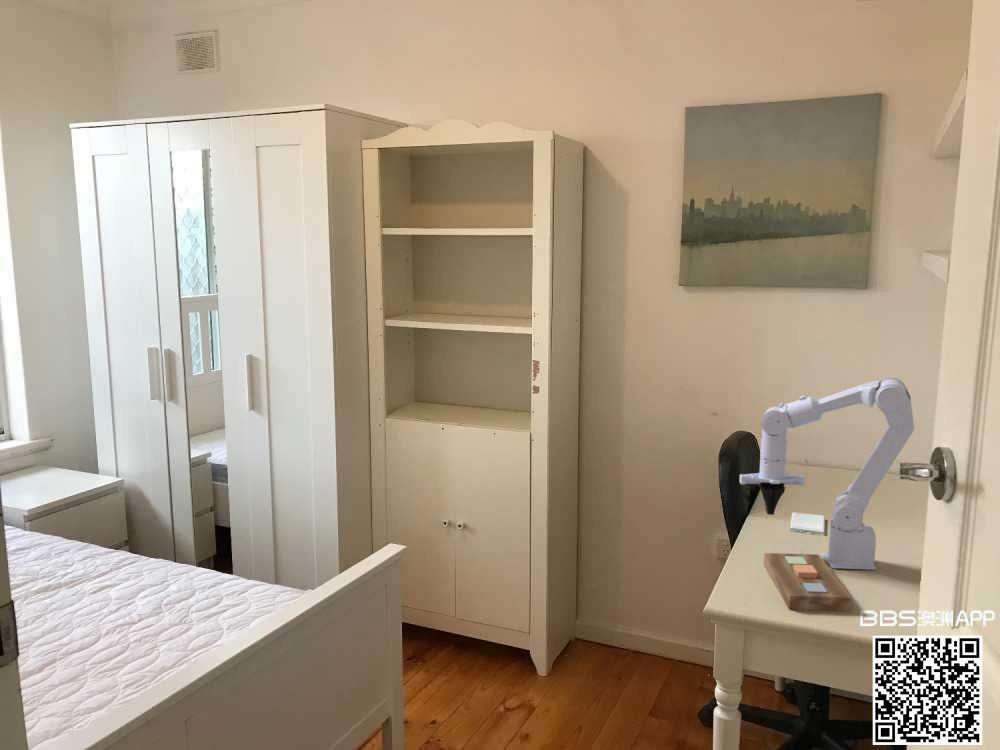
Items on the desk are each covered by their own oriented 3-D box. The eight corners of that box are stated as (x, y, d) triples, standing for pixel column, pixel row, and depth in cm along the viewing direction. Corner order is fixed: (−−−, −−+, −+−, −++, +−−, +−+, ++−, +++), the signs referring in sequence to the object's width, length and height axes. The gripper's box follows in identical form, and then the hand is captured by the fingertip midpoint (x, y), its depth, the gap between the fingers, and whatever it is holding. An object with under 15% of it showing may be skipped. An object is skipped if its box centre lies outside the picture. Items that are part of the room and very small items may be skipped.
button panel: (817, 566, 185) (818, 554, 185) (850, 611, 164) (851, 597, 163) (763, 565, 186) (764, 553, 186) (789, 609, 165) (789, 595, 164)
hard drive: (792, 511, 218) (790, 527, 207) (824, 515, 215) (824, 531, 204) (791, 517, 219) (789, 533, 207) (824, 521, 216) (824, 537, 204)
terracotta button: (811, 575, 176) (812, 565, 176) (816, 583, 173) (817, 572, 172) (792, 574, 177) (793, 564, 176) (797, 582, 173) (798, 572, 172)
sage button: (802, 566, 183) (802, 556, 183) (807, 574, 180) (807, 563, 179) (783, 566, 184) (784, 556, 183) (788, 573, 180) (789, 563, 179)
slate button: (820, 594, 170) (821, 583, 169) (826, 602, 166) (827, 591, 165) (801, 593, 170) (801, 582, 170) (806, 602, 166) (807, 591, 166)
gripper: (745, 462, 187) (742, 518, 190) (809, 463, 186) (805, 519, 189) (738, 453, 194) (736, 508, 197) (801, 455, 193) (797, 509, 196)
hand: (769, 513), depth 193 cm, fingers closed
